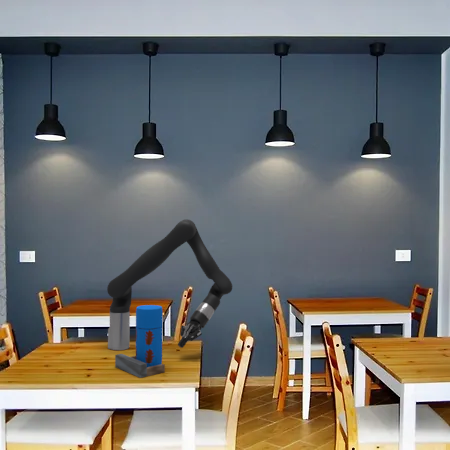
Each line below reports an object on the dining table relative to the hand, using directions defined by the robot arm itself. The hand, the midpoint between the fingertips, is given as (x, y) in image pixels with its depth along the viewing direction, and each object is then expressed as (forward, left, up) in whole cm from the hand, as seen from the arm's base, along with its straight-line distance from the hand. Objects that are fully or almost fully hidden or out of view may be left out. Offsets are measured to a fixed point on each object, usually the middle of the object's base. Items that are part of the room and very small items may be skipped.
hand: (179, 346), depth 231 cm
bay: (-13, -16, -6) cm, 21 cm away
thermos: (-10, -12, -6) cm, 17 cm away
